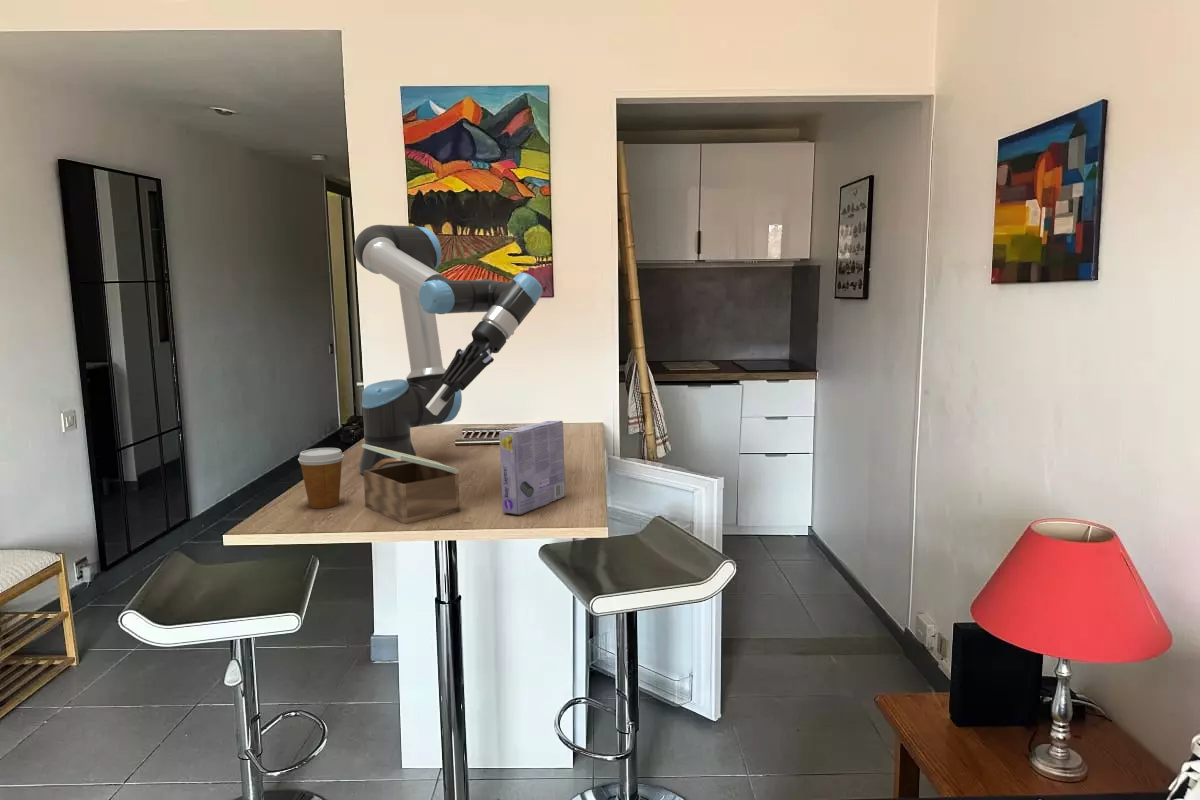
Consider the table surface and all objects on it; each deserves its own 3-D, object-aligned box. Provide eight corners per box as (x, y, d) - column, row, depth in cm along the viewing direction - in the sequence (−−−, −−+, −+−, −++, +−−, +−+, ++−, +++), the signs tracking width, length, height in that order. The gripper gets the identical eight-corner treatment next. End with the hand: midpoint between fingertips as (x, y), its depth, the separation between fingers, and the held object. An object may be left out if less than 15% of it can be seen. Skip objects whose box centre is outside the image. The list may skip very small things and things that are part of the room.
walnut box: (365, 506, 173) (363, 470, 172) (418, 495, 182) (417, 461, 181) (403, 523, 160) (401, 485, 159) (459, 511, 168) (458, 474, 167)
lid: (361, 447, 171) (362, 442, 172) (417, 460, 181) (418, 456, 181) (400, 459, 158) (401, 454, 158) (458, 473, 167) (459, 468, 167)
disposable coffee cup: (311, 499, 180) (307, 447, 179) (352, 498, 180) (349, 447, 178) (294, 510, 171) (290, 456, 169) (337, 510, 171) (334, 455, 169)
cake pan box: (551, 493, 182) (549, 417, 180) (569, 495, 180) (568, 419, 177) (499, 514, 166) (497, 431, 163) (519, 517, 163) (516, 433, 161)
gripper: (520, 343, 177) (457, 425, 169) (489, 340, 187) (428, 418, 179) (499, 320, 173) (434, 403, 165) (468, 318, 183) (405, 397, 175)
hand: (431, 411), depth 172 cm, fingers closed
